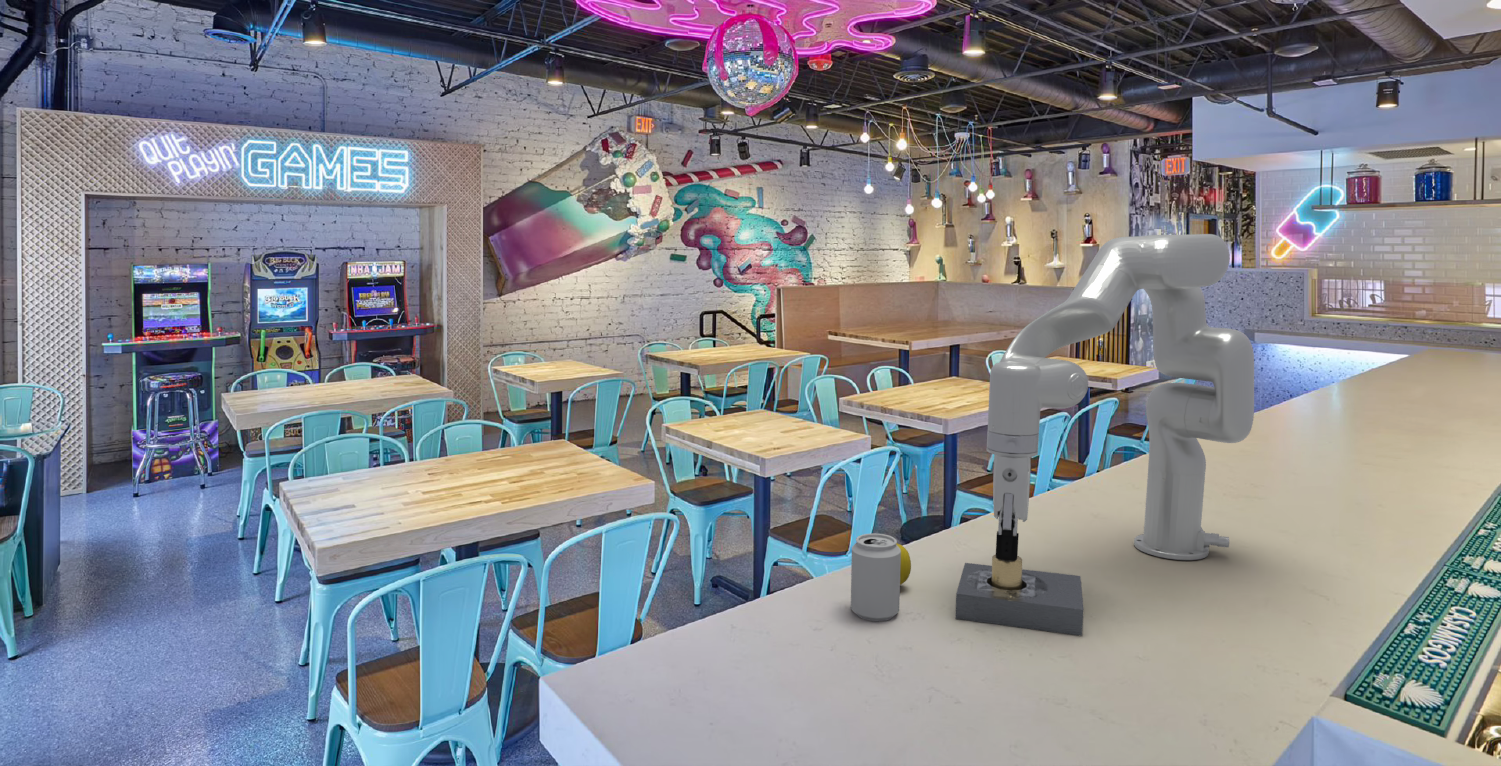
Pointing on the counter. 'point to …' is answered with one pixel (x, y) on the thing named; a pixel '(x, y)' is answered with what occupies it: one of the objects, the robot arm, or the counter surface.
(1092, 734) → the counter surface
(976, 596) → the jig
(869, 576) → the can
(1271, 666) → the counter surface
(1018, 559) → the cylinder
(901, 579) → the lemon
